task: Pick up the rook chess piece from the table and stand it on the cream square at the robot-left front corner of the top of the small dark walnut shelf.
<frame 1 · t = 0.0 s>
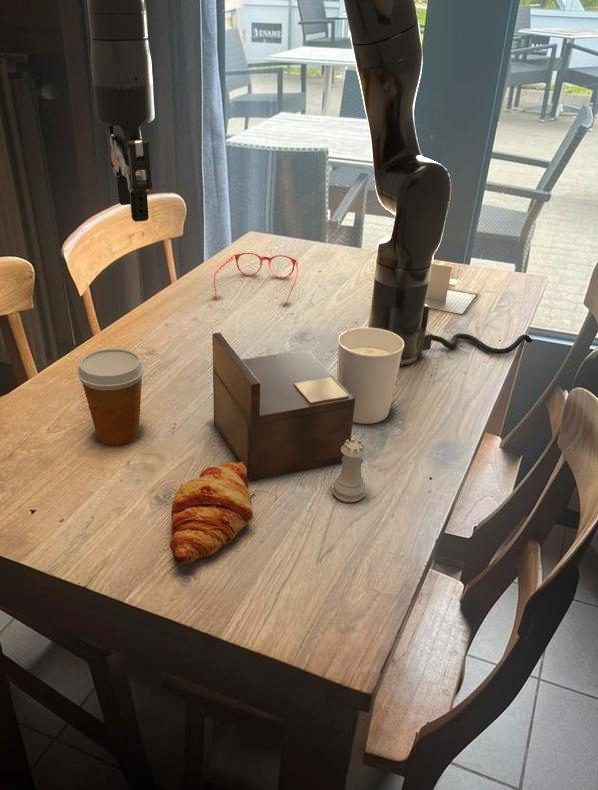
hand: (133, 211, 101), 29 cm above the table, tool pointing down, fingers open, 8 cm apart
candle holder: (362, 411, 115), on the table
architectural model: (433, 298, 153), on the table
disposable coffee cup: (118, 435, 109), on the table
walnut shelf: (278, 441, 107), on the table
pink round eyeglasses: (258, 289, 157), on the table
rook chess piece: (348, 495, 97), on the table
croissant: (214, 523, 92), on the table
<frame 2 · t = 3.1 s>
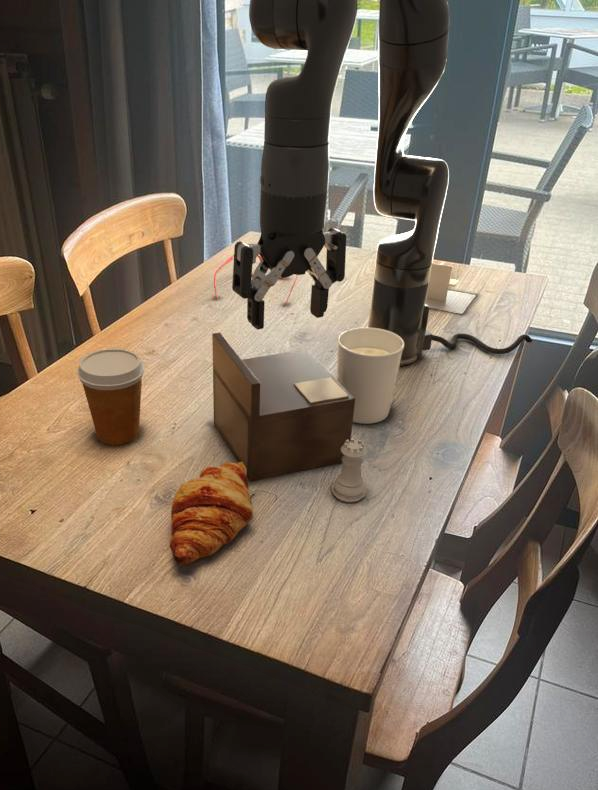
hand: (287, 321, 90), 21 cm above the table, tool pointing down, fingers open, 8 cm apart
nothing on the table moved.
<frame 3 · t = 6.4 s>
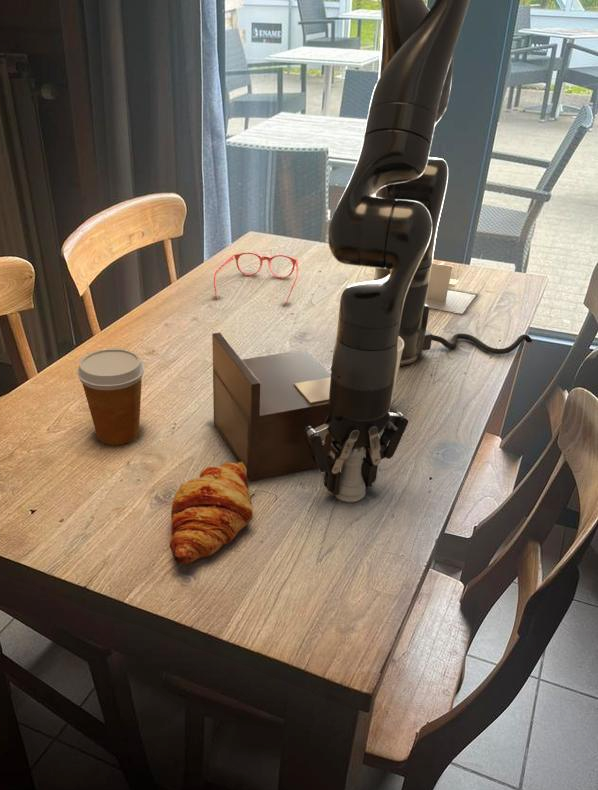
hand: (349, 487, 96), 1 cm above the table, tool pointing down, fingers closed on rook chess piece, 4 cm apart
rook chess piece: (348, 495, 97), on the table, touching gripper
everything else where it was.
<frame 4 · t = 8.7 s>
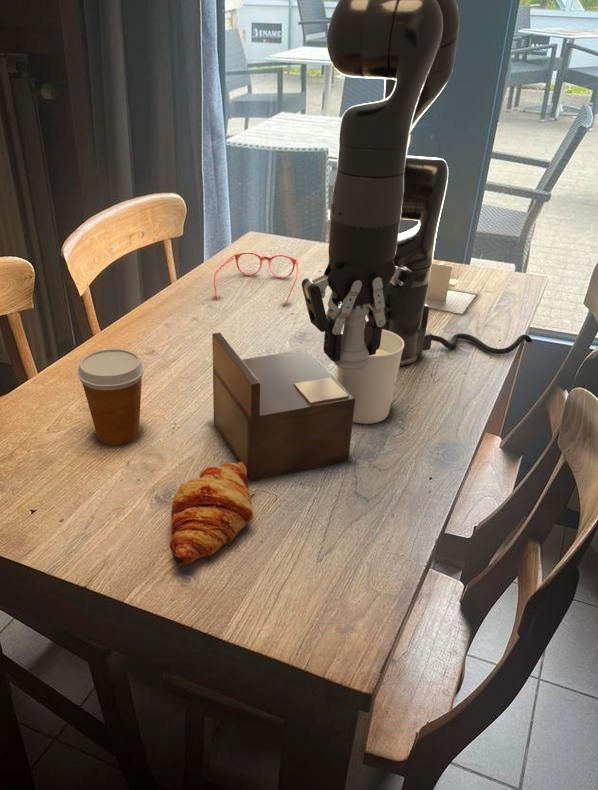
hand: (351, 354, 89), 19 cm above the table, tool pointing down, fingers closed on rook chess piece, 4 cm apart
rook chess piece: (350, 364, 90), point 17 cm above the table, touching gripper
everything else where it was.
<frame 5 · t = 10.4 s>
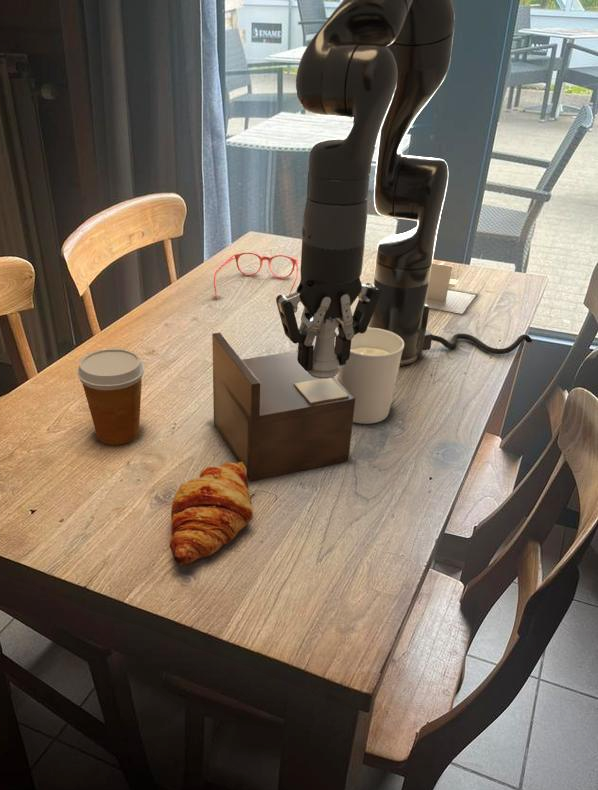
hand: (323, 364, 97), 14 cm above the table, tool pointing down, fingers closed on rook chess piece, 4 cm apart
rook chess piece: (322, 373, 97), point 13 cm above the table, touching gripper
everything else where it was.
when the fingers open (11 cm above the table, at t = 11.5 s): rook chess piece stays where it is, resting on walnut shelf.
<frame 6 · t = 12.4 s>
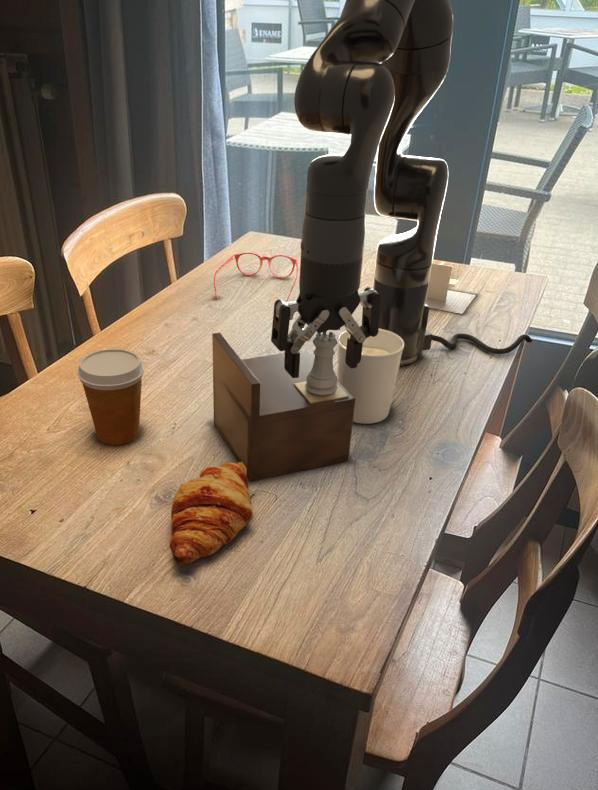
hand: (322, 370, 97), 13 cm above the table, tool pointing down, fingers open, 8 cm apart
rook chess piece: (320, 390, 99), point 10 cm above the table, touching walnut shelf
everything else where it was.
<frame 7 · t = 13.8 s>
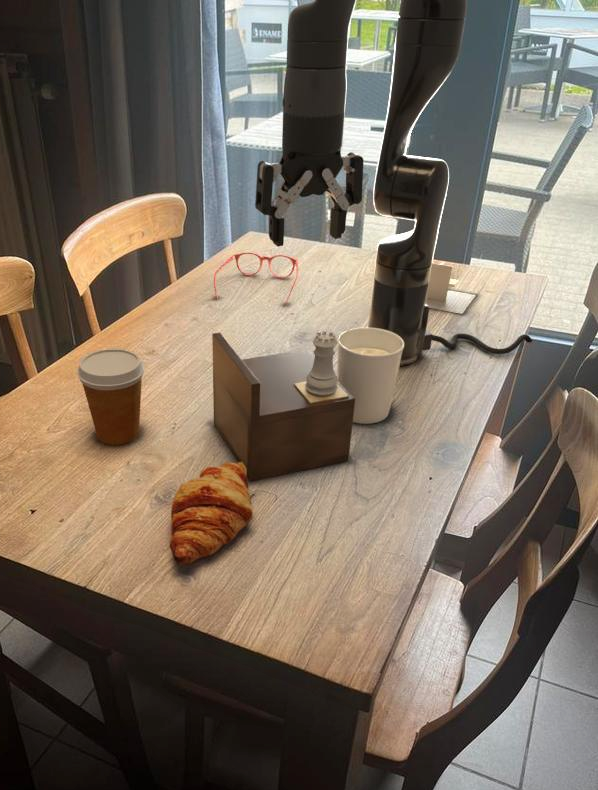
hand: (307, 240, 98), 27 cm above the table, tool pointing down, fingers open, 8 cm apart
nothing on the table moved.
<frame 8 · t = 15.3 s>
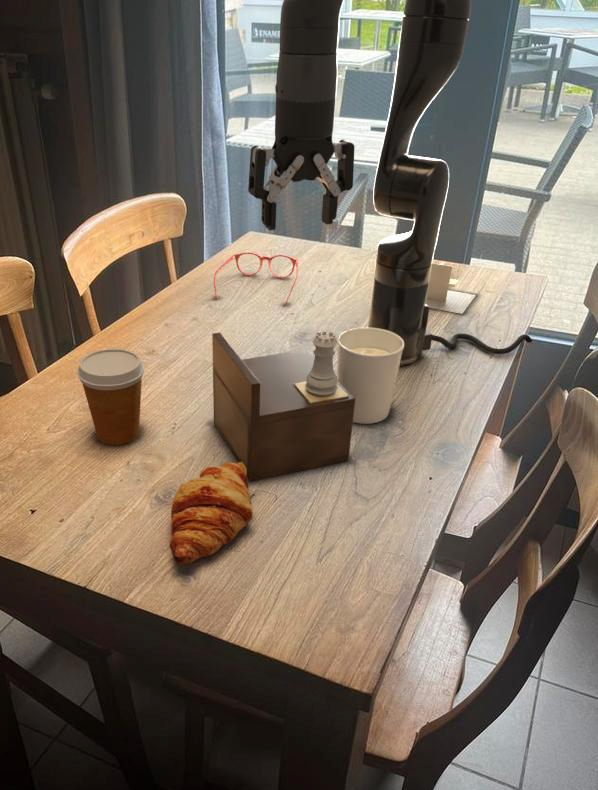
hand: (299, 225, 100), 28 cm above the table, tool pointing down, fingers open, 8 cm apart
nothing on the table moved.
at the end: rook chess piece 0.0 cm from the target spot on the walnut shelf, point 10.2 cm above the walnut shelf's base; rook chess piece tilted 0°; the gripper is holding nothing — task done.
